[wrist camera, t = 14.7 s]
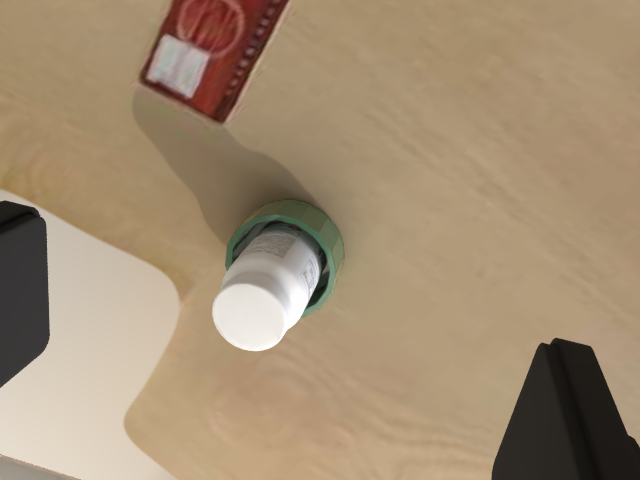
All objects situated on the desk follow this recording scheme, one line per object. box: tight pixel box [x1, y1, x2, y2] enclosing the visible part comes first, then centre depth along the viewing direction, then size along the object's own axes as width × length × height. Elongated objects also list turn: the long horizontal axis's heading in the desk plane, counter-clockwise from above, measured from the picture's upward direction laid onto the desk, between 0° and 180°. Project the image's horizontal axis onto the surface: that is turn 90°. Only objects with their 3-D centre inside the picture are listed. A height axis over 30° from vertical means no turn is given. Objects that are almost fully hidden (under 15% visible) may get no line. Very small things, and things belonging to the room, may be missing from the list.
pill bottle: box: [212, 221, 326, 351], centre depth 33 cm, size 5×5×8 cm
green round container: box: [225, 200, 344, 318], centre depth 36 cm, size 7×7×3 cm
